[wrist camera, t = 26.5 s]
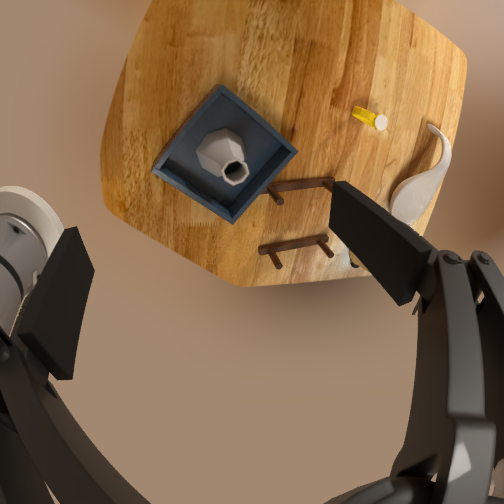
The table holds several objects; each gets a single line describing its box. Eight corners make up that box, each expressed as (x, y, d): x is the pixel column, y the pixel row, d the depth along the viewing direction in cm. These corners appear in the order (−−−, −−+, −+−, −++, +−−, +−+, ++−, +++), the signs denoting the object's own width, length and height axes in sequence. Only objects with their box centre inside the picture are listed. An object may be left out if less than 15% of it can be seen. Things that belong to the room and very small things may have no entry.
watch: (343, 114, 40) (364, 120, 35) (349, 101, 39) (371, 105, 34) (367, 129, 42) (389, 137, 38) (373, 116, 41) (395, 123, 37)
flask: (227, 118, 36) (243, 129, 28) (254, 155, 40) (276, 176, 32) (186, 149, 37) (190, 168, 29) (216, 184, 41) (228, 212, 33)
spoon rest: (404, 223, 58) (423, 239, 53) (373, 213, 54) (394, 230, 48) (443, 137, 47) (466, 147, 41) (416, 113, 42) (442, 122, 37)
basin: (227, 211, 45) (232, 225, 41) (153, 162, 37) (150, 171, 33) (286, 144, 41) (298, 151, 37) (216, 84, 33) (221, 83, 29)
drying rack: (258, 252, 51) (268, 271, 47) (255, 185, 44) (267, 200, 39) (325, 239, 54) (340, 256, 49) (331, 176, 46) (349, 189, 42)
